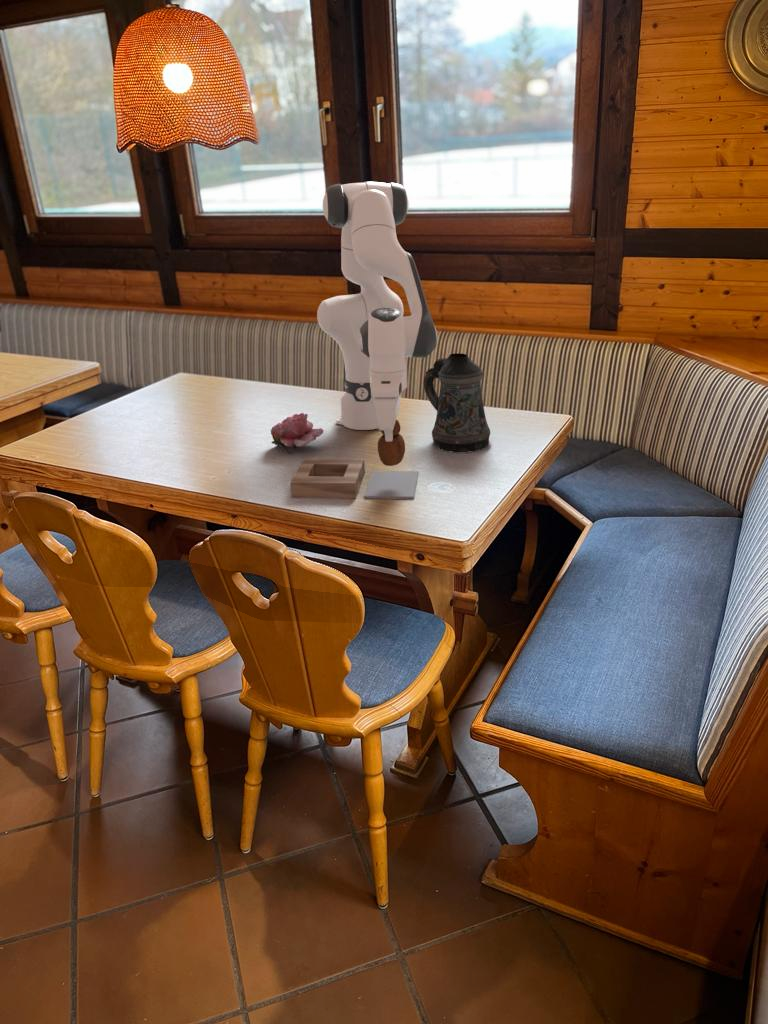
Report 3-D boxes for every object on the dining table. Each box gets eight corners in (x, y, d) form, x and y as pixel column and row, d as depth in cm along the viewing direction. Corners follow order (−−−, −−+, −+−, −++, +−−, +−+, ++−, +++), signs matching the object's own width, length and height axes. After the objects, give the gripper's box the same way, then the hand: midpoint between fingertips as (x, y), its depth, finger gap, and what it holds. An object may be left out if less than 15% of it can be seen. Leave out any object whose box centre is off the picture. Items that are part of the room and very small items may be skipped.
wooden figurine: (391, 457, 190) (389, 399, 184) (409, 461, 187) (407, 403, 181) (374, 465, 186) (371, 406, 179) (392, 470, 182) (389, 410, 176)
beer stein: (487, 454, 206) (489, 363, 195) (417, 451, 210) (415, 362, 199) (492, 433, 220) (494, 348, 210) (426, 431, 224) (425, 348, 213)
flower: (332, 431, 219) (318, 400, 215) (315, 455, 207) (300, 423, 203) (288, 441, 225) (275, 412, 221) (269, 465, 213) (255, 435, 209)
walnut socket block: (305, 472, 199) (303, 458, 197) (365, 472, 197) (364, 458, 195) (291, 497, 185) (290, 482, 183) (356, 498, 183) (355, 483, 181)
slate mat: (372, 472, 197) (372, 470, 197) (418, 473, 195) (418, 471, 195) (364, 498, 182) (364, 496, 182) (413, 498, 181) (413, 496, 181)
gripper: (380, 369, 187) (382, 422, 193) (369, 392, 169) (372, 450, 175) (405, 368, 186) (407, 422, 192) (397, 392, 168) (399, 450, 174)
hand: (390, 435), depth 183 cm, fingers closed on wooden figurine, 5 cm apart
